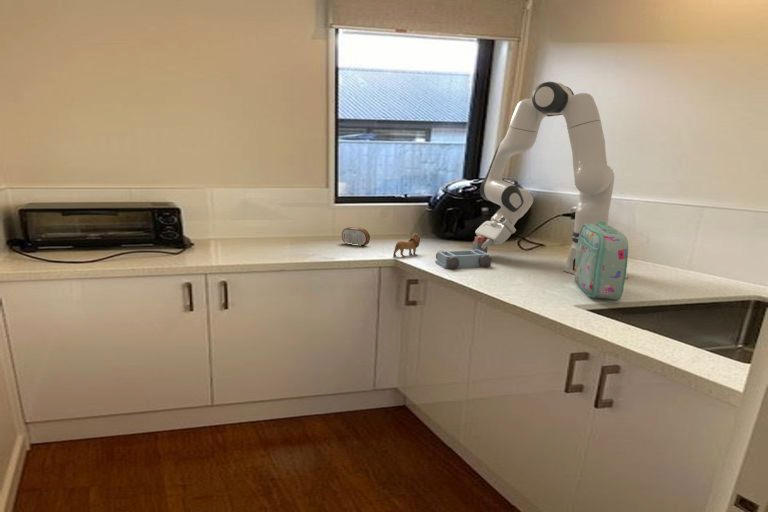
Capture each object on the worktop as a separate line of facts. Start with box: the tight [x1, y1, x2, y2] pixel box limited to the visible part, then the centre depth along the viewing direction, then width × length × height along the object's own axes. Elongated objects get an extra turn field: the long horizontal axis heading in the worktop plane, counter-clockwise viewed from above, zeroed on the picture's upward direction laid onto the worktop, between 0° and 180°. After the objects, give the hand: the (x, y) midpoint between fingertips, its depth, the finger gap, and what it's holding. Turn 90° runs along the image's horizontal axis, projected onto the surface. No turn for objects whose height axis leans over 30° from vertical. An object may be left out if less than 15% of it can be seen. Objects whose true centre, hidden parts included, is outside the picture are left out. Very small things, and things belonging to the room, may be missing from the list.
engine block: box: [472, 235, 488, 254], centre depth 196 cm, size 4×4×9 cm
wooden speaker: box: [341, 226, 371, 246], centre depth 226 cm, size 15×3×8 cm, turn 58°
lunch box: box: [573, 221, 629, 301], centre depth 147 cm, size 27×10×21 cm, turn 171°
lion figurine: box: [392, 233, 421, 258], centre depth 202 cm, size 15×5×9 cm, turn 131°
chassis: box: [435, 248, 492, 270], centre depth 186 cm, size 14×19×4 cm
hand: (478, 246), depth 196 cm, fingers closed on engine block, 4 cm apart
